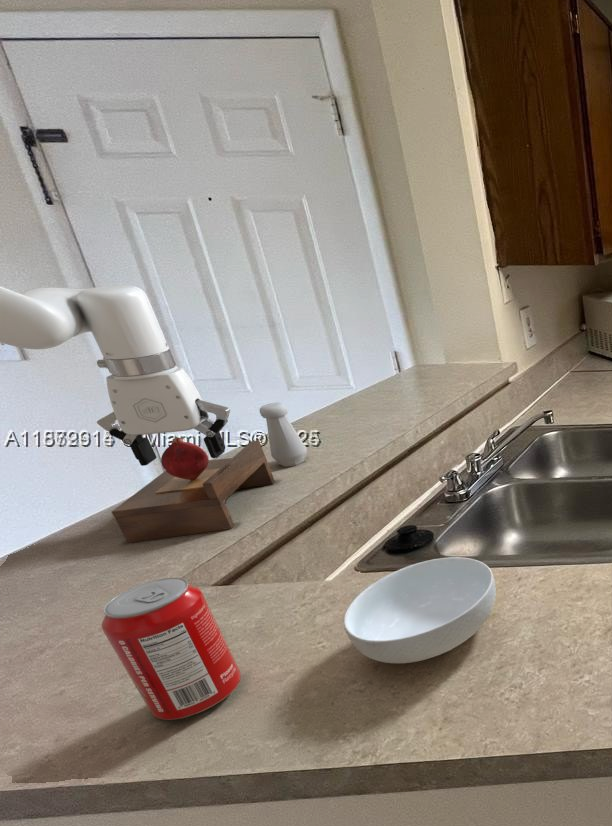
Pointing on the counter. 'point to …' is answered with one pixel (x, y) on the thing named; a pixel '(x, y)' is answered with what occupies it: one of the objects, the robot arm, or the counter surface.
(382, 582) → the cereal bowl
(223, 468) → the wooden display stand
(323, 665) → the counter surface
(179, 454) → the pomegranate
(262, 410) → the salt shaker
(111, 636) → the soda can
